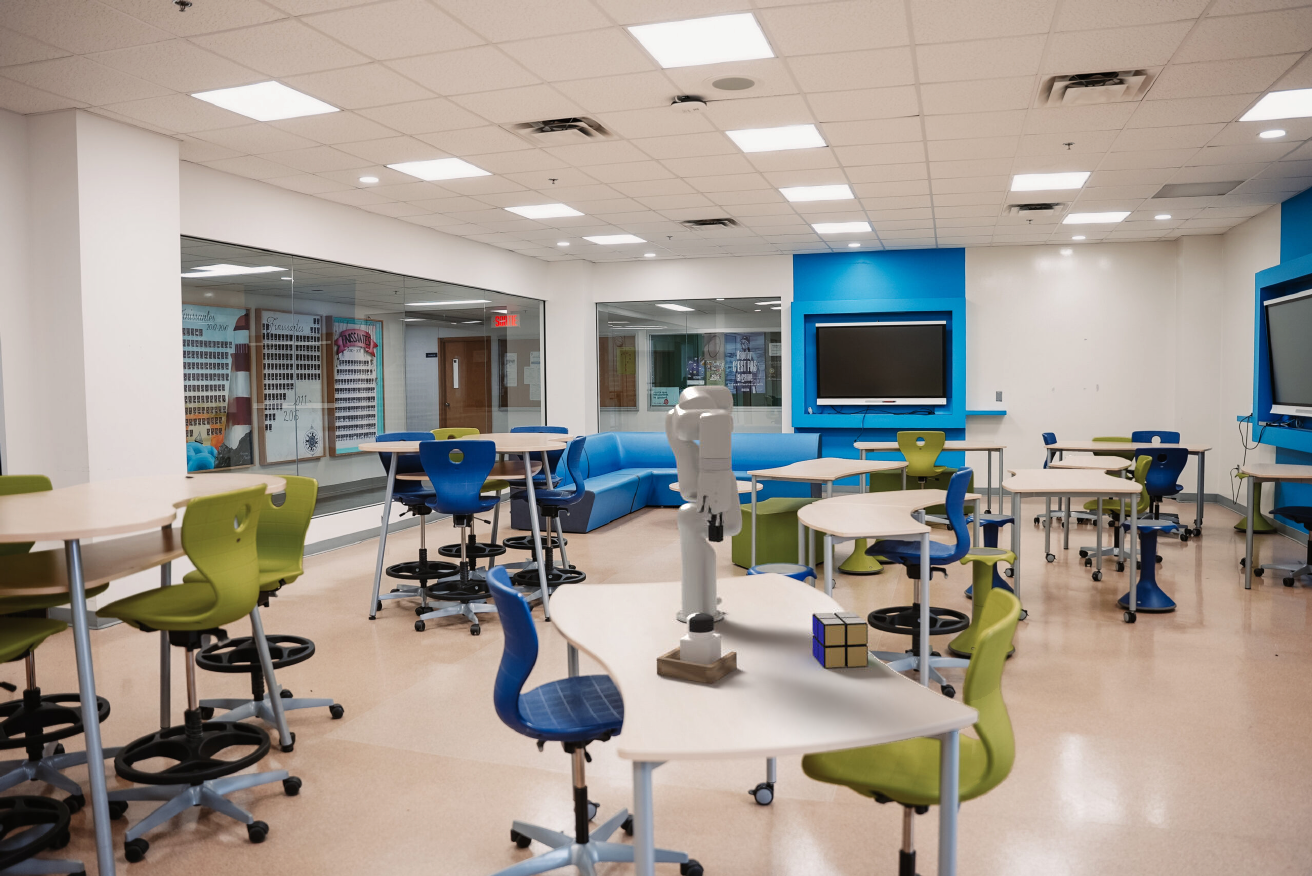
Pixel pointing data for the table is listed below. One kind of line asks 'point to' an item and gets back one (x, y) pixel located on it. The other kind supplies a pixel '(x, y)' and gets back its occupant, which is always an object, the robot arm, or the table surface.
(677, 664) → the bay
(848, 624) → the puzzle cube
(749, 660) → the table surface
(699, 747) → the table surface
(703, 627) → the medicine bottle
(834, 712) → the table surface
